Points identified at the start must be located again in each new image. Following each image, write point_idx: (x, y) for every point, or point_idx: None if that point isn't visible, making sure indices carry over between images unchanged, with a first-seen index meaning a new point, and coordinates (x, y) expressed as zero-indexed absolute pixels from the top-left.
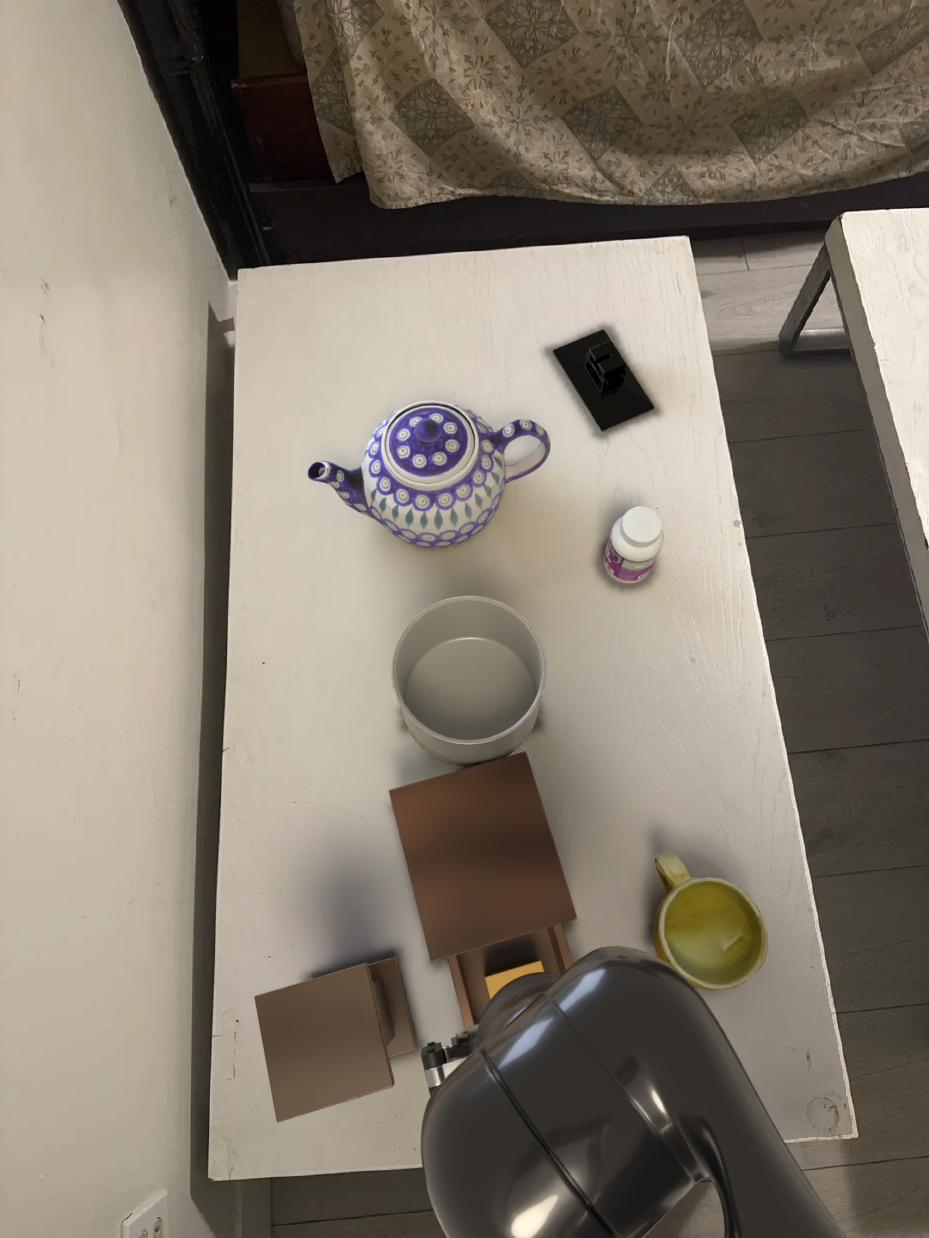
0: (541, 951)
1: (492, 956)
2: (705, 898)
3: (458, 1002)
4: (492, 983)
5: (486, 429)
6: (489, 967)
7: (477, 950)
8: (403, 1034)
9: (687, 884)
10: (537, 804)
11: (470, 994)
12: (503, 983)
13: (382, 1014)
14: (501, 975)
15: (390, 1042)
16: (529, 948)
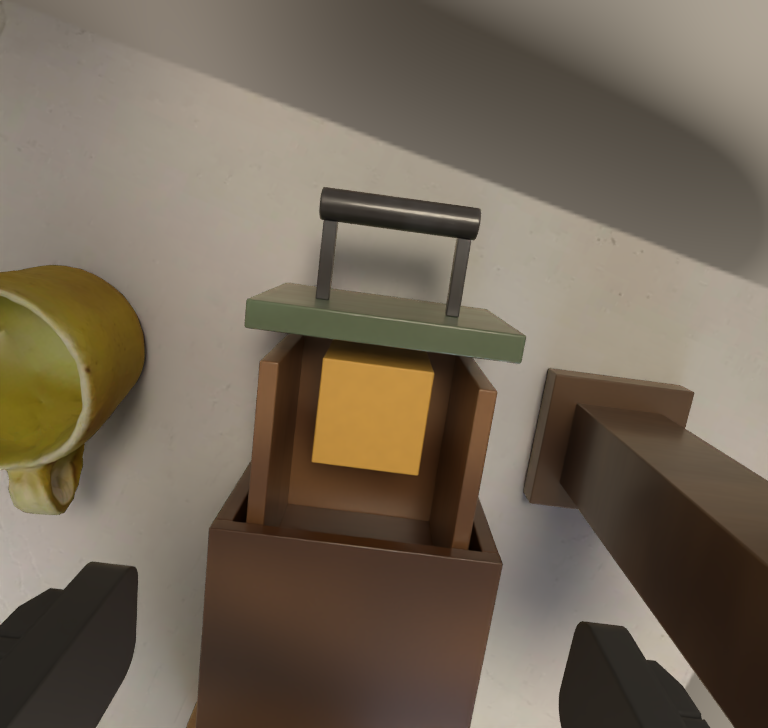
0: (314, 427)
1: None
2: (5, 418)
3: (482, 471)
4: (409, 461)
5: None
6: None
7: None
8: (564, 401)
9: (12, 465)
10: (205, 720)
11: (444, 414)
12: (390, 454)
13: (606, 482)
14: (388, 467)
15: (587, 398)
16: None
